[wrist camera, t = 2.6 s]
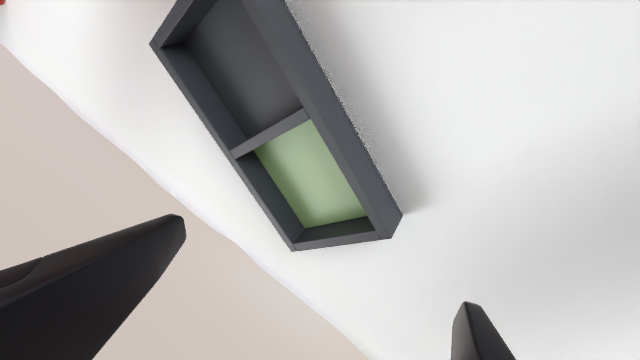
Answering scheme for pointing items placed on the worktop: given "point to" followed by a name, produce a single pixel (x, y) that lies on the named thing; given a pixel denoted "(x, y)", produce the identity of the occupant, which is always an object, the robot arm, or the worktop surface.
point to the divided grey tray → (276, 120)
